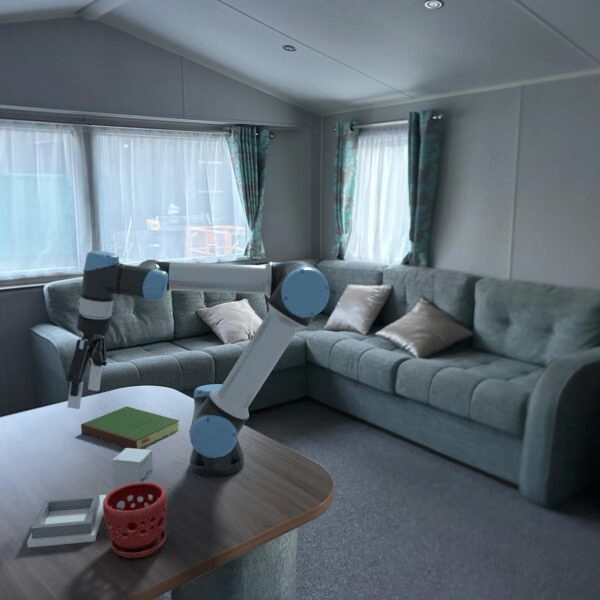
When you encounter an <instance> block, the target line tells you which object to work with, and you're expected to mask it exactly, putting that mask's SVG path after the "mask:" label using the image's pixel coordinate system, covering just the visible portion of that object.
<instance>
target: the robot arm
mask: <svg viewBox="0 0 600 600" xmlns="http://www.w3.org/2000/svg"><path fill="white" fill-rule="evenodd" d="M83 267H84V268H83V274H82V275H83V276H82V284H81V292H80V293H81V294H80V298H78V300H77V301H78V303H79V310H78V313H79V314H78V316H77V321H76V322H77V323H76V330H77V331H78V332H81V333H82V334H83V336H82V338H81V339H80V338H79V339H77V340H76V345H75V349H74V353H73V358H72V360H71V361H72V362H71V365H70V368H69V371H68V375H67V377H66V379H65V380H66V382H68V383H69V382H70V383H69V390H68V391H69V392H68V398H67V406H66V407H67V408H70V409H76V410H79V409H81V403H82V395H83V388H84V381H83V379H84V376H85V373H86V371H87V367H88V366H89V363H90V360H91V361H92V364H91V365H90V372H89V378H88V386H87V390H89V391H95V392H99V391H100V388H101V380H102V372H103V366H104V367H106V366H107V364H108V363H107V343H106V341H107V340H106V336H107V334H108V333H109V332H110V327H111V321H112V318H111V316H112V314H113V306H114V298H115V297H114V296H115V295H117V296H124V297H130V298H136V299H142V300H147V301H157V302H161V301H163V300H164V299H165V296H166V294H167V291H176V292H177V291H178V292H180V291H182V292H204V293H205V292H206V293H210V292H211V293H231V294H257V295H258V294H260V295H262V294H263V295H265V296H266V297H267V298H269V300H268V302H267V306H268V313H267V314H266V315H265V317H264V319H263V320H262V322H261V323H260V325H259V326H258V328H257V330H256V331H255V333H254V334H253V336H252V338H251V339H250V341H249V342H248V343H247V346H246V347H245V348H244V350H243V352H242V353H241V355H240V356H239V357H238V359H237V361H236V362H235V364H234V366H233V367H232V369H231V370H230V372H229V373H228V375H227V377H226V379H225V380H224V381H223V383H221V384H220V383H218V384H217V383H214V384H205V385H201V386H197V387H196V388H195V390H194V391H193V399H194V401H193V404H194V409H193V415H192V419H191V425H190V429H189V441H190V444H191V445H192V451H191V454H190V456H189V468H190V470H191V471H192V472H193V473H194V474H196V475H200V476H202V477H210V478H211V477H212V478H213V477H214V478H216V477H224V476H229V475H232V473H233V474H235V473H237V472H238V470H239V471H240V470H242V469H243V467H244V466H243V465H245V455H244V452H243V449H242V446H241V444H240V441H239V437H238V436H239V433H240V432H241V430H242V428H243V427H244V425H245V424H246V423H247V421H248V420H249V417H250V414H249V413H250V412H249V406H250V405H251V403H252V402H253V400H254V398H255V397H256V396H257V394H258V393H259V391H260V389H261V388H262V386H263V385H264V383H265V382H266V380H267V378H268V377H269V375H270V374H271V372H272V371H273V369H274V368H275V366H276V365H277V363H278V362H279V360H280V359H281V357H282V355H283V354H284V352H285V351H286V349H287V347H288V346H289V345H290V343H291V342H292V340H293V339H294V336H295V335H296V334H297V332H298V331H299V330H301V329H306V328H308V326H309V325H310V323H312V320H313V319H314V317H316V315H318V314H319V313H321V312H322V311H323V310H324V309H325V308H326V306H327V304H328V302H329V298H330V293H331V292H330V285H329V281H328V279H327V278H326V276H325V275H324V273H323V272H322V271H320V270H319V269H318V268H317V267H316V266H315V265H313V264H311V263H310V262H308V261H302V260H298V261H297V260H296V261H294V260H293V261H269V262H268V263H267V264H265V265H262V264H261V265H259V264H257V265H256V264H231V263H230V264H226V263H205V262H183V261H182V262H179V261H175V262H174V261H159V260H157V259H146V260H144V261H142V262H141V263H140V264H138V266H136V265H131V264H130V265H129V264H123V263H120V256H119V255H118V254H116V253H113V252H108V251H102V250H92V251H89V252H87V254H86V257H85V262H84V266H83Z"/></svg>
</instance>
